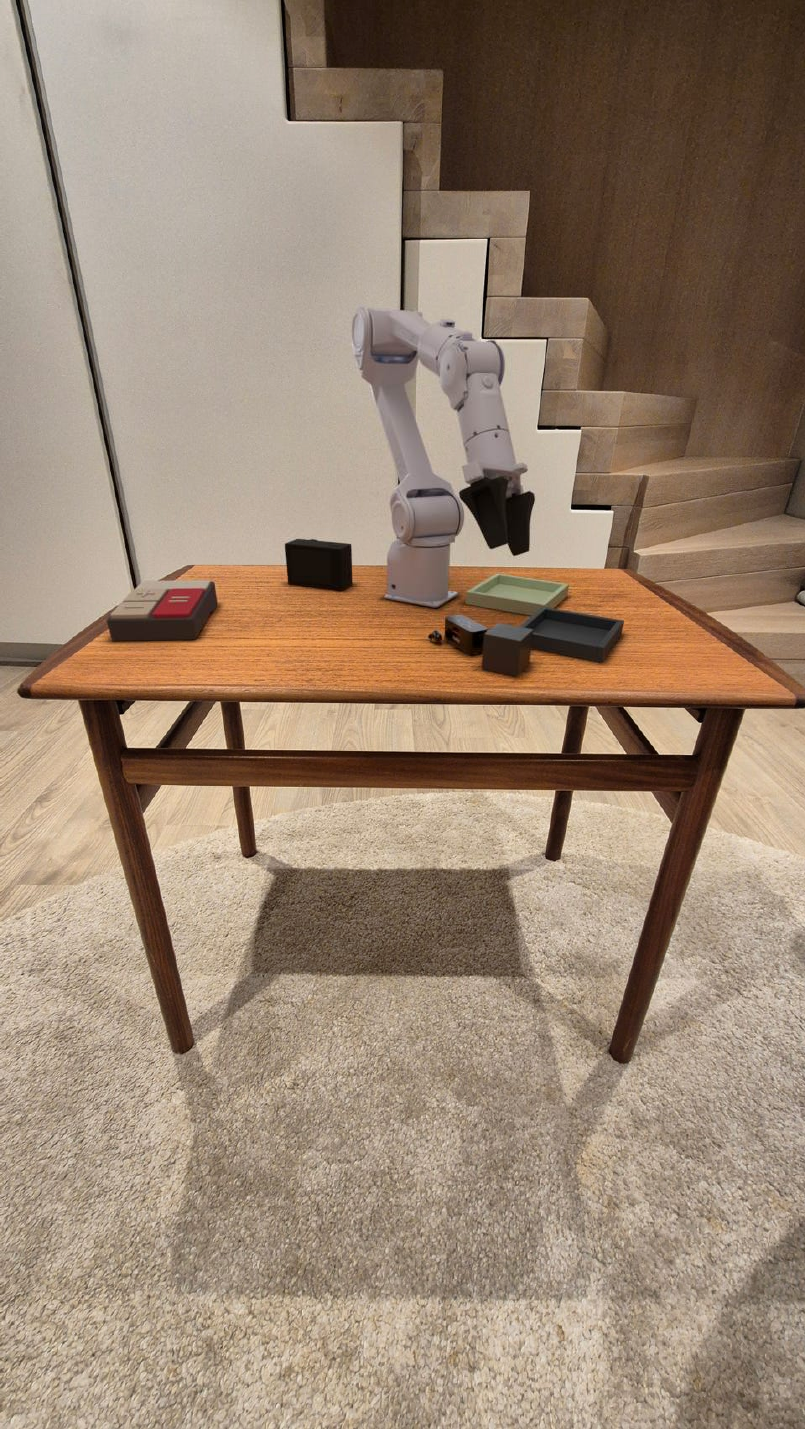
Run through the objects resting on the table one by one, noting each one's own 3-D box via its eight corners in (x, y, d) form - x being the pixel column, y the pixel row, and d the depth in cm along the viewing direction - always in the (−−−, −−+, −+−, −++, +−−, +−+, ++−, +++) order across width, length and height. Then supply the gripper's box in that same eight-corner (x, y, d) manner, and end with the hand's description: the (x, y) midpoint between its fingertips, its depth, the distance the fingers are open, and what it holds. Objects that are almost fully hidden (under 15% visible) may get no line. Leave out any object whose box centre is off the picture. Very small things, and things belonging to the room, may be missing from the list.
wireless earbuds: (456, 635, 82) (457, 612, 80) (487, 653, 76) (489, 628, 75) (427, 641, 80) (427, 617, 78) (457, 659, 74) (458, 635, 73)
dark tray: (512, 644, 79) (514, 630, 78) (540, 619, 88) (542, 606, 87) (601, 662, 74) (604, 647, 73) (621, 634, 83) (624, 620, 82)
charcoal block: (481, 669, 72) (484, 633, 70) (495, 656, 75) (498, 622, 73) (516, 677, 70) (520, 641, 68) (529, 664, 73) (533, 629, 71)
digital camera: (356, 582, 104) (355, 541, 100) (342, 591, 99) (341, 548, 96) (303, 576, 107) (300, 536, 103) (287, 584, 102) (284, 543, 99)
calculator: (103, 614, 77) (139, 577, 89) (111, 645, 79) (145, 604, 92) (191, 613, 77) (214, 576, 90) (196, 644, 80) (218, 603, 92)
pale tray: (465, 604, 94) (466, 591, 93) (495, 584, 104) (496, 573, 103) (543, 617, 88) (544, 604, 88) (567, 596, 98) (569, 584, 97)
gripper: (493, 408, 65) (519, 530, 65) (537, 443, 77) (559, 546, 77) (437, 435, 69) (462, 551, 69) (487, 465, 81) (508, 563, 81)
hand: (510, 550), depth 73 cm, fingers open, 7 cm apart
